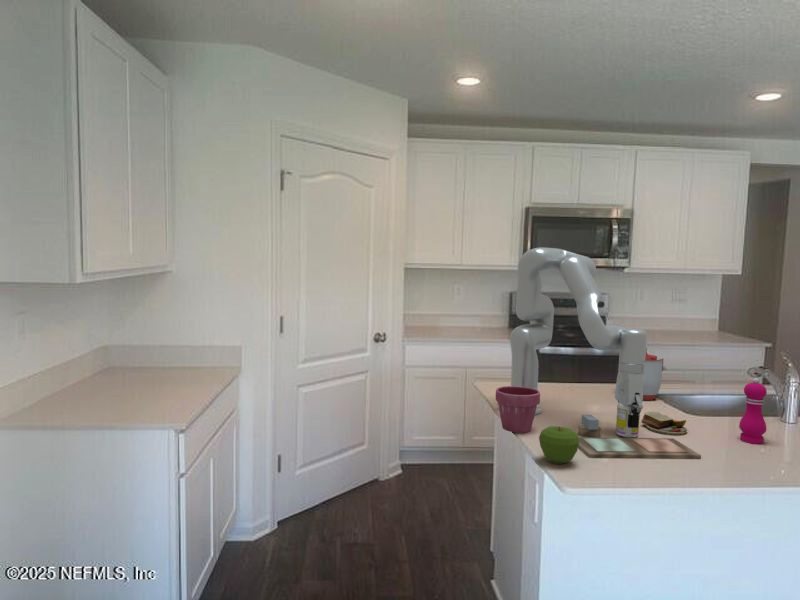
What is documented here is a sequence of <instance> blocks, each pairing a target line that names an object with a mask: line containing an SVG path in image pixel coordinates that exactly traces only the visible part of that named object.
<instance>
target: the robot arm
mask: <svg viewBox="0 0 800 600" xmlns="http://www.w3.org/2000/svg"><path fill="white" fill-rule="evenodd" d="M545 272H547V273H558V274H561V277H562V279H563V280H564V283H565V285H566V286H567V289H568V290H569V291H570V293H571V295H572V297H573V299H574V301H575V303H576V310H577V320H578V323H579V326H580V328H581V330H582V332H583V334H584V336H585V338H586V340H587V341H588V343H589V345H591V346H592V348H593V349H595V350H599V351H607V350H608V351H609V350H614V349H619V356H618V358H619V359H618V373H617V376H616V382H615V383H616V384H615V389H614V390H615V391H614V398H615V400H616V401H617V404H618V403H619V402H621V403H622V404H624V405H626V406H629V412H630V415H628V427H629V428H638V426H639V427H640V417H639V416H641V412H642V410H643V408H644V405H643V401H644V400H643V375H644V369H645V355H646V352H647V351H646V350H647V340H648V337H647V336H648V335H647V334H648V333H647V331H645V330H644V329H640V328H633V327H631V328H630V327H629V328H628V327H624V326H620V325H616V324H611V325H610V324H608V325H606V324H605V323H604V321H603V319H602V317H601V315H600V313H599V307H598V306H599V301H600V299H601V297H602V291H601V289H600V288H599V286H598V285H597V282H596V281H595V279H594V276H595V275H596V272H597V266H596V263H595V261H594V260H593V259H591V258H590V257H589V256H586V255H582V254H578V253H575V252H571V251H569V250H566V249H562V248H556V247H535V248H531V249H529V250H527V251H526V252H524V253H523V254H522V256H521V257H520V258H519V261H518V263H517V286H516V287H517V288H516V302H515V312H516V313H515V314H516V317H517V318H518V319H519V320H520V321H521V320H522V321H525V322H529V323H527V324H521V325H518V326H516V327H515V328H514V329H513V330H512V331H511V333H510V337H509V342H510V350H511V374H510V386H519V387H528V388H533V389H536V390H538V391H539V388H538V385H539V384H538V383H539V358H538V354H537V350H541V349H545V348H547V347H548V346H550V344H551V341H552V339H553V332H554V319H555V318H554V315H555V306H554V303H553V301H552V299H551V298H550V297H549V296H547V295H546V294H542V285H543V284H542V278H541V275H540V273H545ZM496 403H497V405H498V402H497V401H496ZM632 403H636V405H632ZM632 407H636V408H634V410H633V409H632ZM541 413H542V409H541V408H540V406H538V405H537V407H536V411H535V415H534V416H536V415H539V414H541Z"/></svg>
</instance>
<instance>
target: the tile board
mask: <svg viewBox="0 0 800 600" xmlns="http://www.w3.org/2000/svg"><path fill="white" fill-rule="evenodd" d="M578 437H579V440H580V441H579V445H578V448H579V450H580V451H581V452H582V453H584V454H585V455H586V456H587V457H588V458H590V459H679V460H680V459H685V460H686V459H687V460H689V459H695V460H698V459H699V460H701V459H702V455H701V454H700V453H698V452H696V451H695V450H693V449H691V448H689V447H688V446H687V445H685V444H683V443H681V442H680V441H678V440H677V439H675V438H670V437H669V438H667V437H666V438H665V437H663V438H662V437H661V438H659V437H634V438H629V437H581V436H578Z"/></svg>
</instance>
